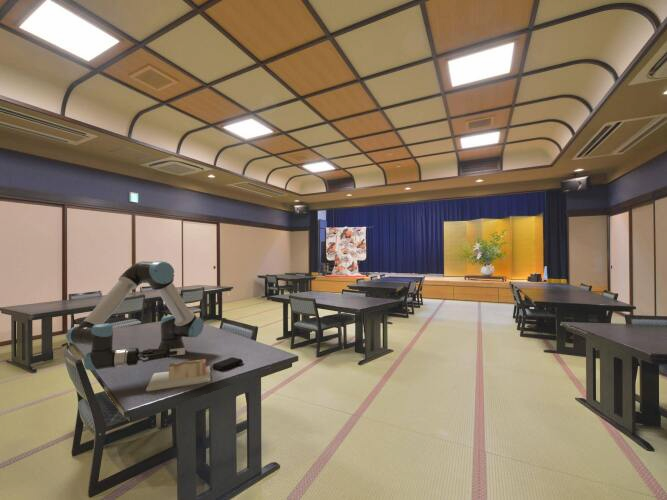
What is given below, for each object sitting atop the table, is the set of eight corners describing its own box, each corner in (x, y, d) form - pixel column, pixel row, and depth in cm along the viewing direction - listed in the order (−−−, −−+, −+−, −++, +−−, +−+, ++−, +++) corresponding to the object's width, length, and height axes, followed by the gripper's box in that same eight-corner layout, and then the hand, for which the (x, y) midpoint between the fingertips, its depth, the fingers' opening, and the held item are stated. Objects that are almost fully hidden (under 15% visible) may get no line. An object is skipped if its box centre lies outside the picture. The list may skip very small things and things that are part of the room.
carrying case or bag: (224, 373, 154) (245, 364, 167) (224, 367, 154) (245, 358, 167) (210, 369, 159) (232, 361, 172) (210, 363, 160) (232, 356, 172)
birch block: (170, 363, 148) (205, 359, 154) (170, 375, 148) (205, 370, 154) (168, 367, 142) (205, 362, 148) (168, 380, 142) (205, 375, 148)
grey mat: (146, 391, 132) (146, 389, 132) (153, 375, 151) (153, 373, 151) (210, 381, 142) (210, 379, 142) (210, 367, 161) (210, 366, 161)
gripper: (130, 361, 145) (185, 354, 154) (123, 370, 133) (183, 362, 142) (131, 345, 145) (185, 340, 154) (124, 352, 133) (184, 346, 142)
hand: (184, 351), depth 148 cm, fingers closed
